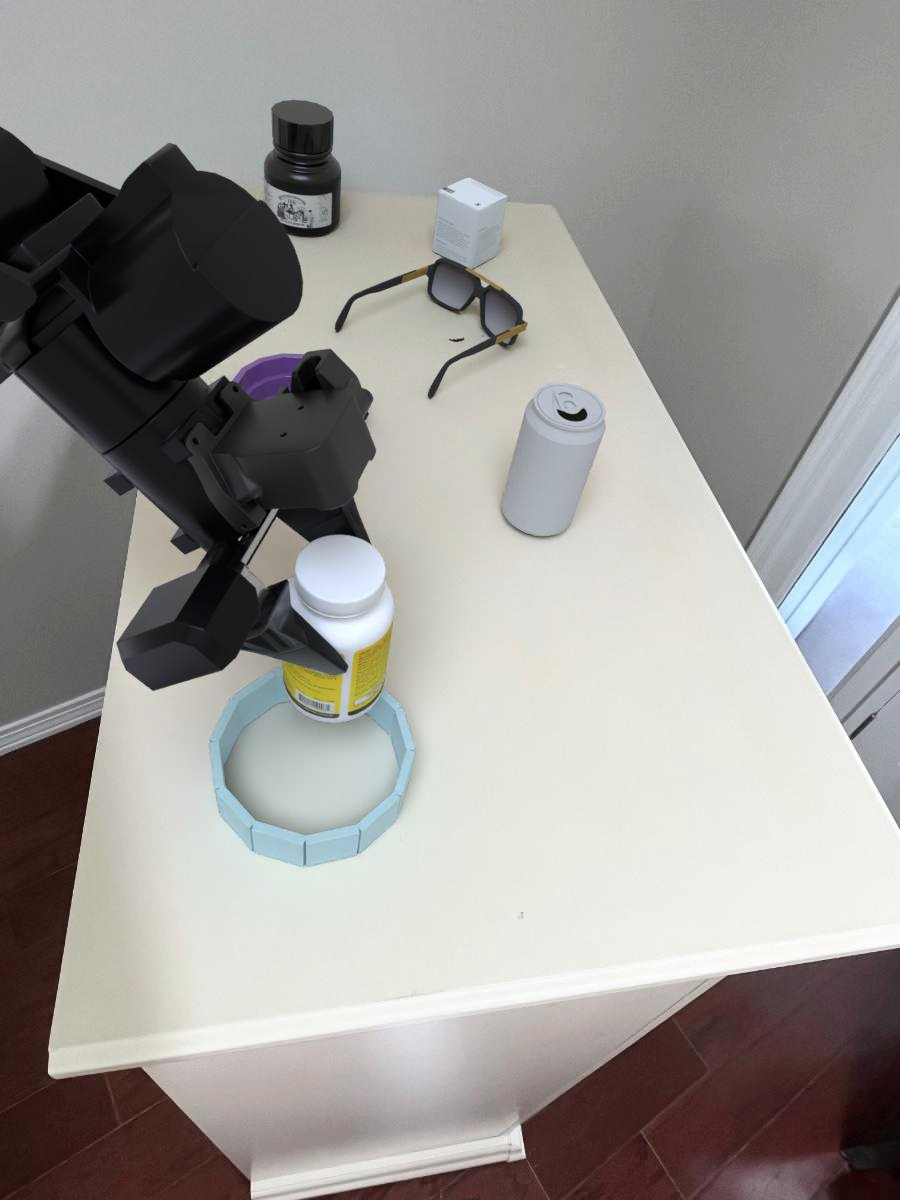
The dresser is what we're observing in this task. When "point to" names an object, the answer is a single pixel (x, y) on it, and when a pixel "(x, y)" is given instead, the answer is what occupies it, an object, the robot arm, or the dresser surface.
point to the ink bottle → (303, 169)
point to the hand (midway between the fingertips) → (361, 626)
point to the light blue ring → (284, 841)
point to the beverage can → (553, 458)
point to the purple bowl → (267, 375)
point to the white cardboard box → (469, 222)
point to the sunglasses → (460, 304)
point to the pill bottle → (342, 626)
